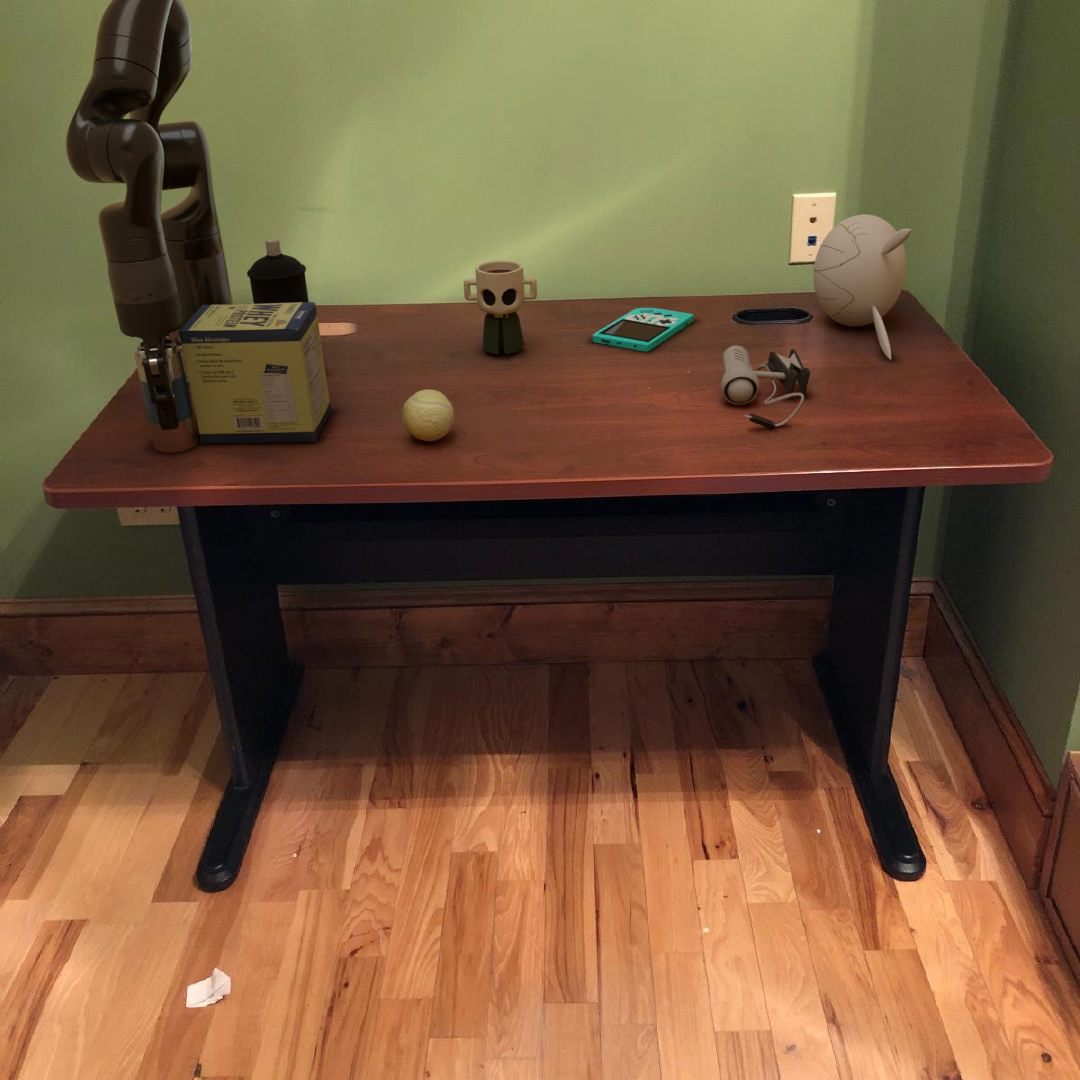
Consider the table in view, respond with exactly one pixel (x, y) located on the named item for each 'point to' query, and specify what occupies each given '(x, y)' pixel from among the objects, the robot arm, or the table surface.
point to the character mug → (501, 303)
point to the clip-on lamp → (744, 381)
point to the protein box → (256, 372)
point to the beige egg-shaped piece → (861, 272)
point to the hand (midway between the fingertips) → (171, 417)
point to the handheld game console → (643, 328)
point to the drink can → (186, 431)
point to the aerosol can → (277, 277)
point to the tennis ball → (428, 415)
